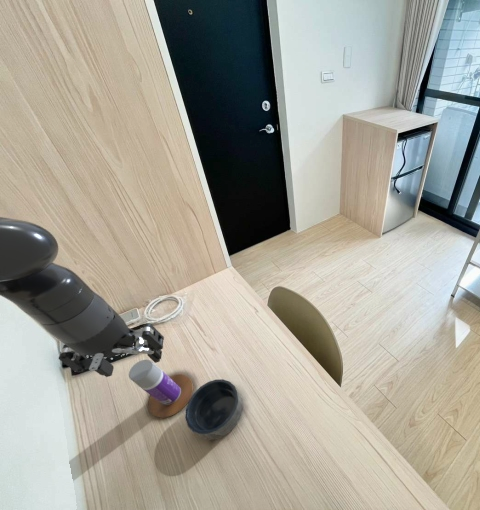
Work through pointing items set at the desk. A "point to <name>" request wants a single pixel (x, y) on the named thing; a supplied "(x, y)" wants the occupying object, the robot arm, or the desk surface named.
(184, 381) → the coaster
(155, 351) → the robot arm
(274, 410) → the desk surface
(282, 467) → the desk surface
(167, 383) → the container
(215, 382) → the bowl
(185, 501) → the desk surface
